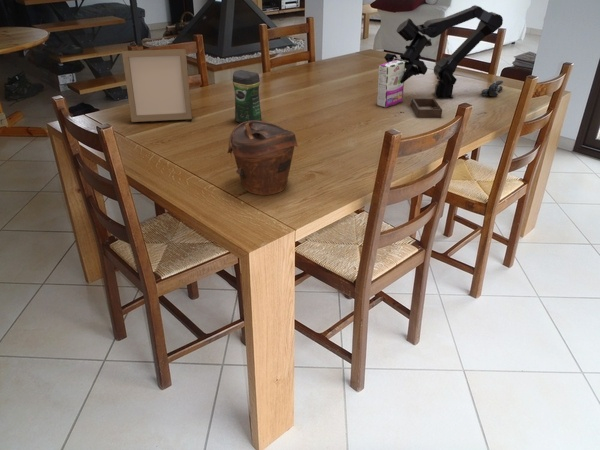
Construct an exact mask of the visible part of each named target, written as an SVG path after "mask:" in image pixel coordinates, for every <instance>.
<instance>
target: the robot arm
mask: <svg viewBox="0 0 600 450" xmlns="http://www.w3.org/2000/svg"><path fill="white" fill-rule="evenodd" d="M474 19H478V20H479V22H478V24H477V26H476V29H475V30H474V31H472V33H471V34H470V35H469V36H468V37H467V38H466V39H465V40H464V41H463V42H462V43H461V44H460V45H459V46H458V48H456V49H455V50H454V51H453V53H451V55H449V56H447V57H445V56H441V58H439V60H438V61H437V62H435V66H434V67H433V73H434V76H436V79H437V82H436V83H435V86H434V96H435V97H436V98H437V99H454V96H453V90H454V85H455V84H456V82H457V78H456V77H455V76H454V75H453V74H454V73H455V72H456V69H457V67H458V65H459V64H460V63H461V62H462V61H463V60H464V59H465V58H466V56H468V55H469V54H470V53H471V52H472V50H474V49H475V48H476V46H478V45H479V43H480V42H482V40H484V39H485V38H486V37H488V36H490V35H492V34H494V33H495V32H496V31H498V30H499V29H500V28H501V27H502V26H503V21H504V19H503V16H502V15H501V14H499V13H496V12H494V11H487V10H485V9H484V8H483V7H482V6H479V5H476V4H474V5H472V6H470V7H468V8H466V9H463V10H461V11H457V12H454V13H453V14H450V15H448V16H445V17H440V18H433V19H428V20H426V21H425V22H423V23H422V24H421V23H420V24H418V25H417V24H415V23H414V21H413V19H411V18H409V17H408V18H407V19H406V20H404V21H403V22H401V23H400V24H399V25H398V26H397V28H396V33H397V34H398V35H399V36H400V37H401V38H402V39H403V40H405V42H409V41H410V43H409V44H408V45H405V47H404V48H405V51H404V52H403V53H400V54H399V57H400V58H398V56H397V55H396V54H395V53H391V52H386V54H385V55H384V57H383V58H384V60H385V61H386V63H388V62H391V61H395V60H399V61H404V62H405V72H404V74H403V76H402V79H401V81H400V83H401V84H402V83H403V82H404V83H405V82H406V81H407V80H409V79H410V78H411V77H413V76H419V75H423V76H424V75H426V73H427V71H428V66H427V65H426V63H425V61H424V60H421V57H422V55H421V53H422V52H423V50H424V49H425V47H426V48H428V47H432V46H433V42H432V39H434V38H436V37H438V36H440V35H442V34H443V33H445V32H446V31H447V30H449V29H451V28H452V27H455V26H458V25H460V24H463V23H465V22H468V21H471V20H474ZM426 36H427V37H428V38H427V37H426Z"/></svg>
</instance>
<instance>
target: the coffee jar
mask: <svg viewBox="0 0 600 450" xmlns="http://www.w3.org/2000/svg"><path fill="white" fill-rule="evenodd" d="M260 85H261V79H260V74H259V73H258V72H253V71H249V70H243V69H238V70H236V71H234V72H233V74H232V86H233V89H234V90H233V91H234V105H235V106H234V120H235V121H236V122H237V123H239V124H241V123H243V122H246V121H262V111H261V101H260Z"/></svg>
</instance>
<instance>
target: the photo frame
mask: <svg viewBox="0 0 600 450" xmlns="http://www.w3.org/2000/svg"><path fill="white" fill-rule="evenodd" d="M121 56H122V63H123V71H124V77H125V85H126V91H127V100H128V106H129V107H128V108H129V114H130V120H131V123H138V122H140V123H141V122H158V121H159V122H160V121H178V120H192V119H193V110H192V100H191V91H190V90H191V89H190V80H189V71H188V69H189V68H188V60H187V59H188V58H187V51H186V48H174V49H173V48H172V49H171V48H170V49H142V50H121Z"/></svg>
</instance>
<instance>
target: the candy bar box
mask: <svg viewBox="0 0 600 450" xmlns="http://www.w3.org/2000/svg"><path fill="white" fill-rule="evenodd" d="M405 70H406V69H405V62H404V61H399V60H395V61H391V62H388V63H387V62H385V63H381V64H378V73H377V75H378V77H377V97H376V98H377V100H376V101H377V102H376V106H378V107H381V108H389V107H393V106H395V105H398V104H400V103H402V102H403V101H404V86H405V82H403V83H402V84H401V83H400V81H401V79H402V76H403V74H404V72H405Z"/></svg>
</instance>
